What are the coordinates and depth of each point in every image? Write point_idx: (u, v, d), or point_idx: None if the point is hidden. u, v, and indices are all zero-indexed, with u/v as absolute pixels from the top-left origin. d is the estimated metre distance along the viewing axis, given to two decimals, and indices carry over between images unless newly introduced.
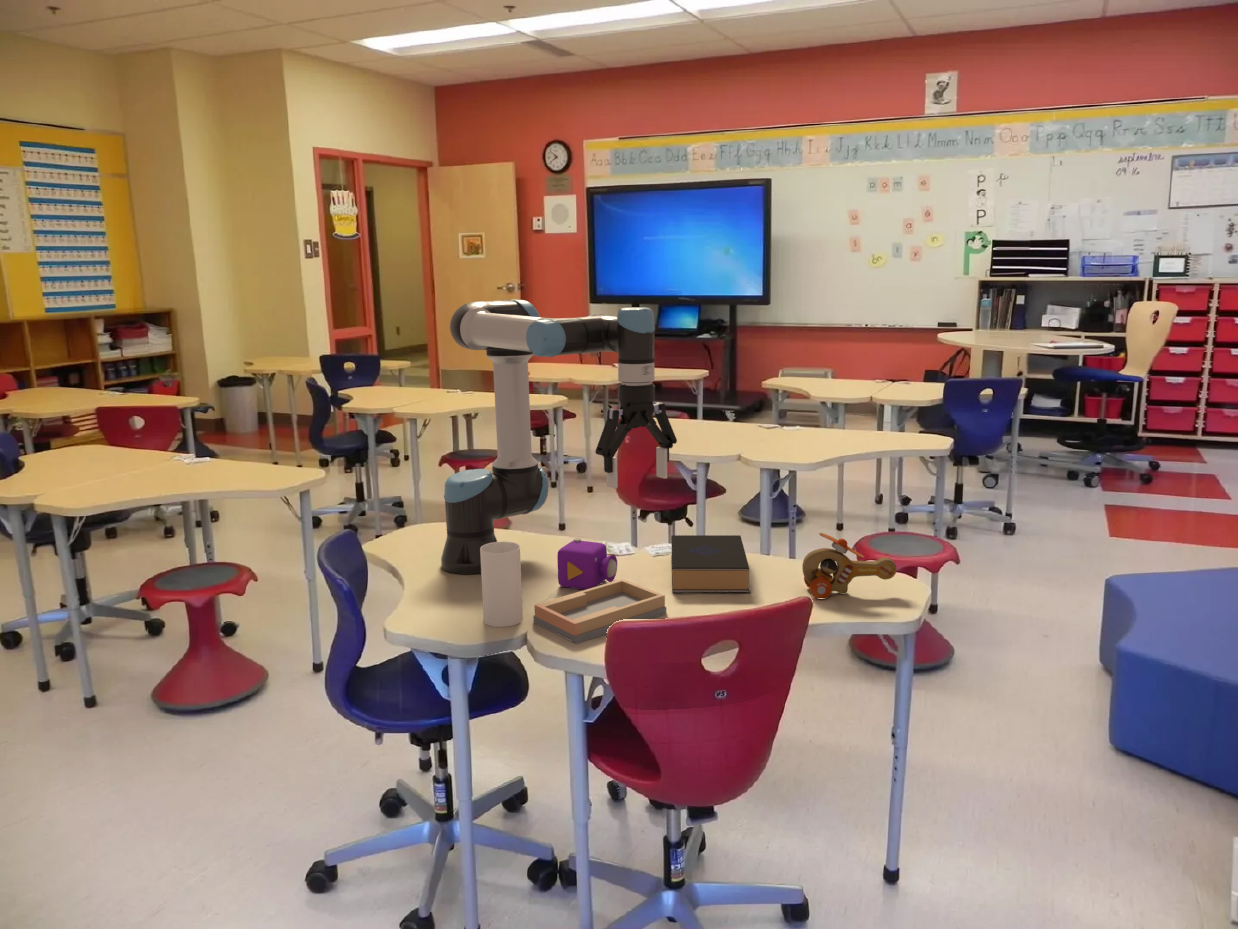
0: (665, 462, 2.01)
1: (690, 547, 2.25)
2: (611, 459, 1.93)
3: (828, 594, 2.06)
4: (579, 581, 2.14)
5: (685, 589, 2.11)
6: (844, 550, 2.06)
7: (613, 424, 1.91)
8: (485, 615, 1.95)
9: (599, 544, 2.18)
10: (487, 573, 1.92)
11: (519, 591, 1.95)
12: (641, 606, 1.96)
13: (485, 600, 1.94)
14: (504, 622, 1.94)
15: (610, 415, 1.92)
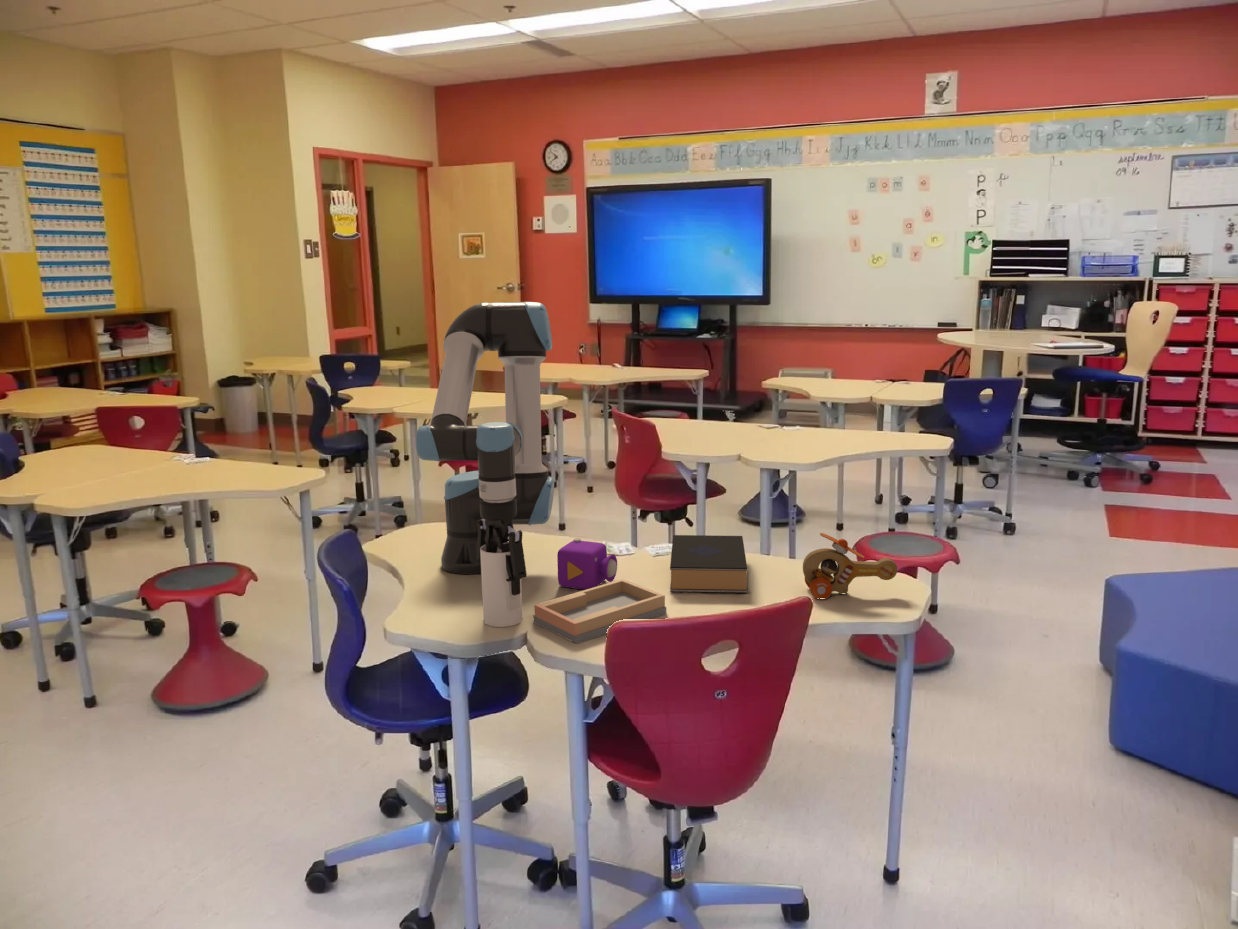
0: (507, 593, 1.92)
1: (690, 547, 2.25)
2: None
3: (828, 594, 2.06)
4: (579, 581, 2.14)
5: (683, 589, 2.12)
6: (844, 550, 2.06)
7: (478, 533, 1.98)
8: (485, 615, 1.95)
9: (599, 544, 2.18)
10: (487, 573, 1.92)
11: None
12: (641, 606, 1.96)
13: (485, 600, 1.94)
14: (504, 622, 1.94)
15: None
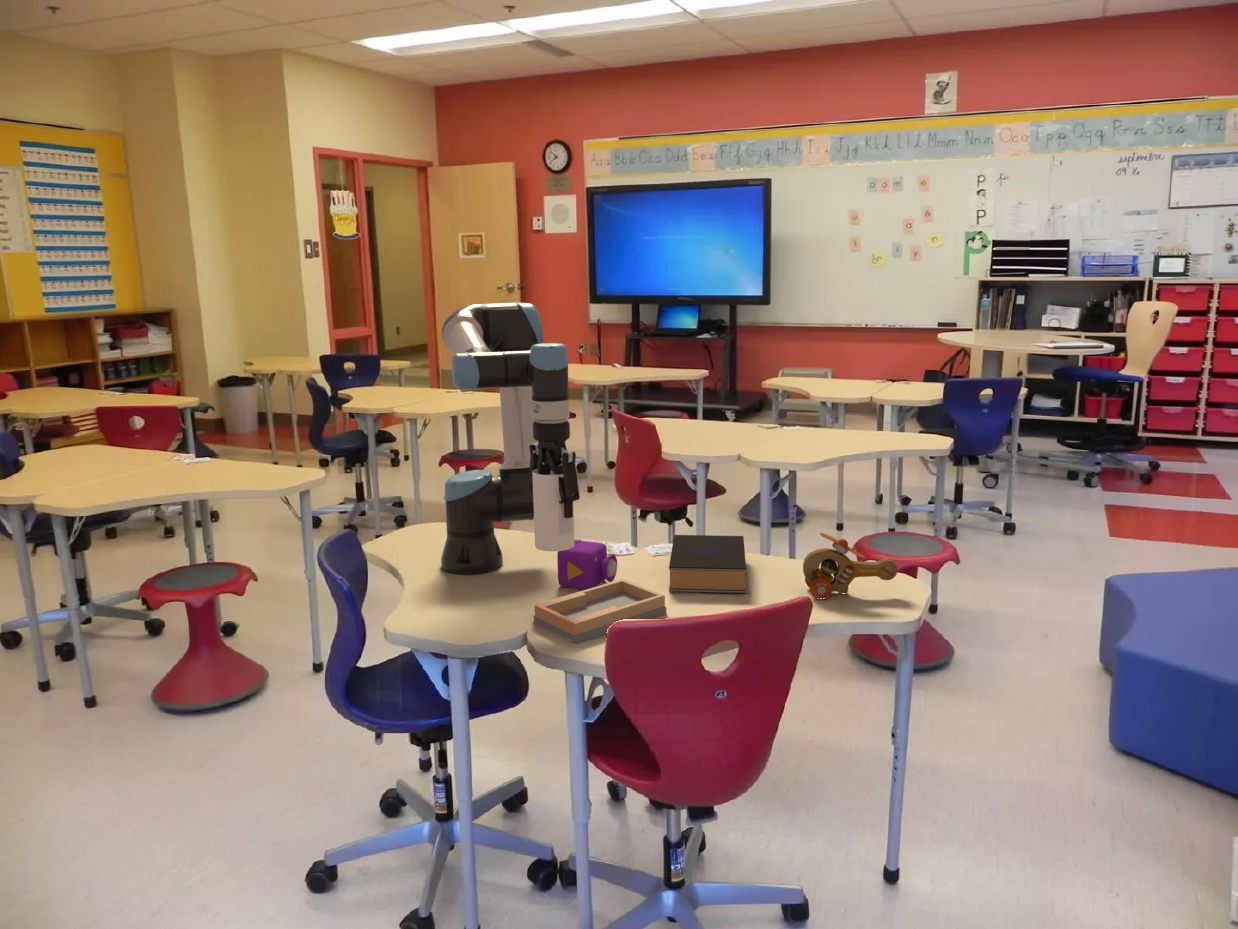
0: (560, 516, 1.90)
1: (690, 547, 2.25)
2: None
3: (828, 594, 2.06)
4: (579, 581, 2.14)
5: (682, 588, 2.12)
6: (844, 550, 2.06)
7: (530, 458, 1.96)
8: (537, 539, 1.93)
9: (599, 544, 2.18)
10: (539, 496, 1.90)
11: None
12: (641, 606, 1.96)
13: (537, 524, 1.92)
14: (556, 546, 1.92)
15: None
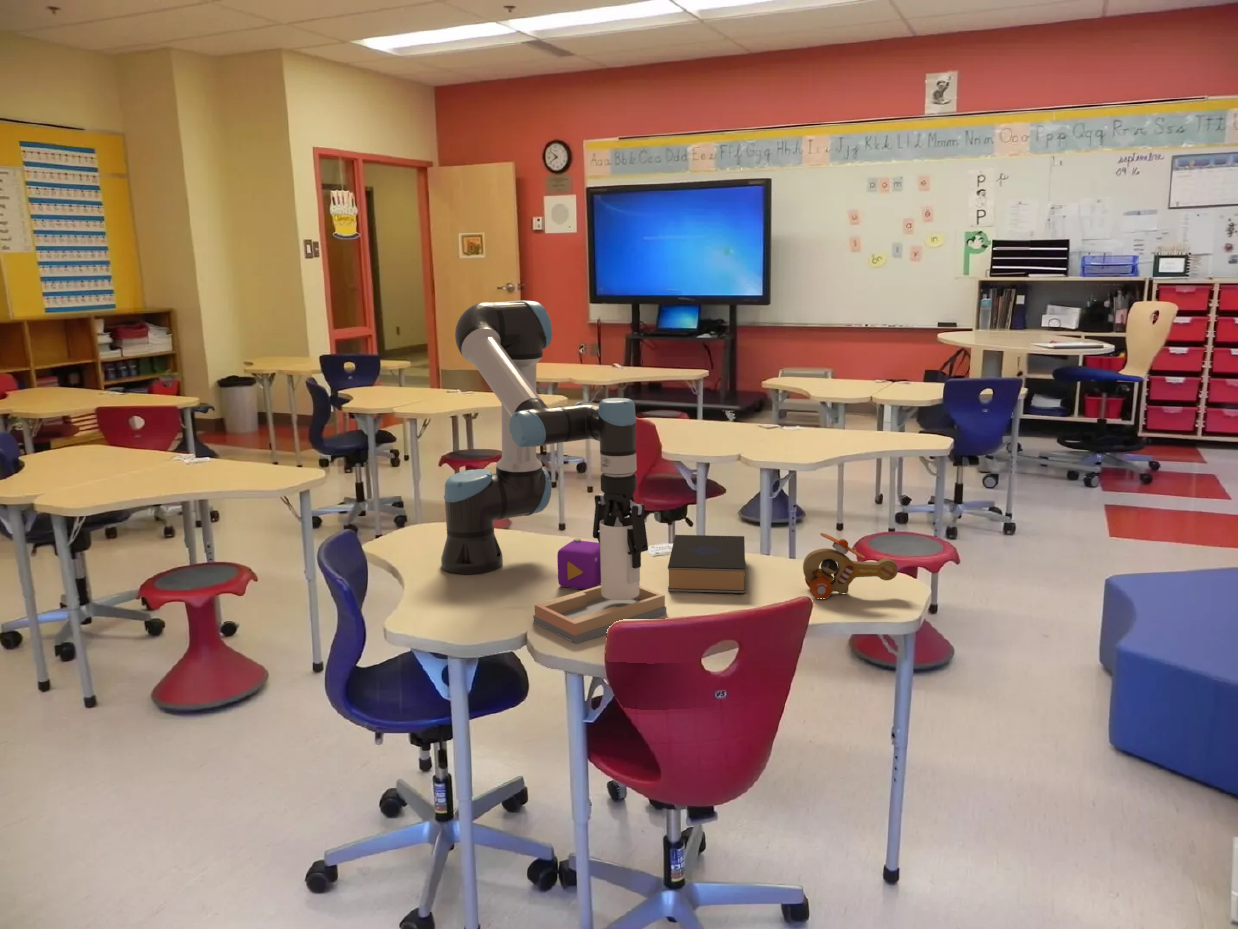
0: (628, 567, 1.95)
1: (691, 547, 2.25)
2: None
3: (828, 594, 2.06)
4: (579, 581, 2.14)
5: (681, 588, 2.12)
6: (845, 550, 2.06)
7: (595, 509, 2.01)
8: (604, 589, 1.98)
9: (599, 544, 2.18)
10: (607, 547, 1.95)
11: None
12: (641, 606, 1.96)
13: (604, 574, 1.97)
14: (624, 595, 1.96)
15: None
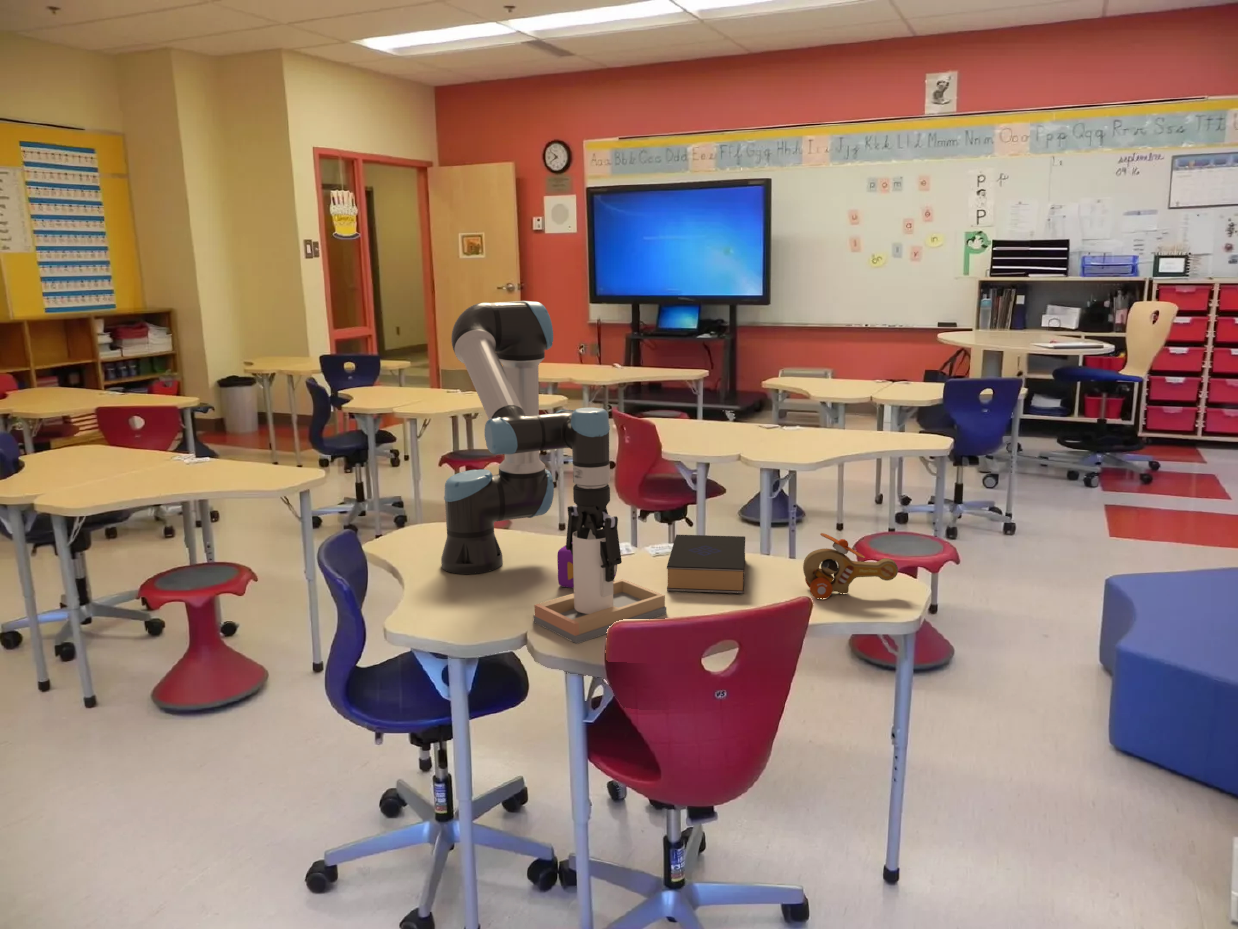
0: (601, 580, 1.91)
1: (691, 547, 2.25)
2: None
3: (828, 594, 2.06)
4: None
5: (680, 588, 2.12)
6: (845, 550, 2.06)
7: (568, 520, 1.97)
8: (577, 602, 1.94)
9: None
10: (580, 559, 1.91)
11: None
12: (641, 606, 1.96)
13: (577, 587, 1.93)
14: (597, 609, 1.92)
15: None
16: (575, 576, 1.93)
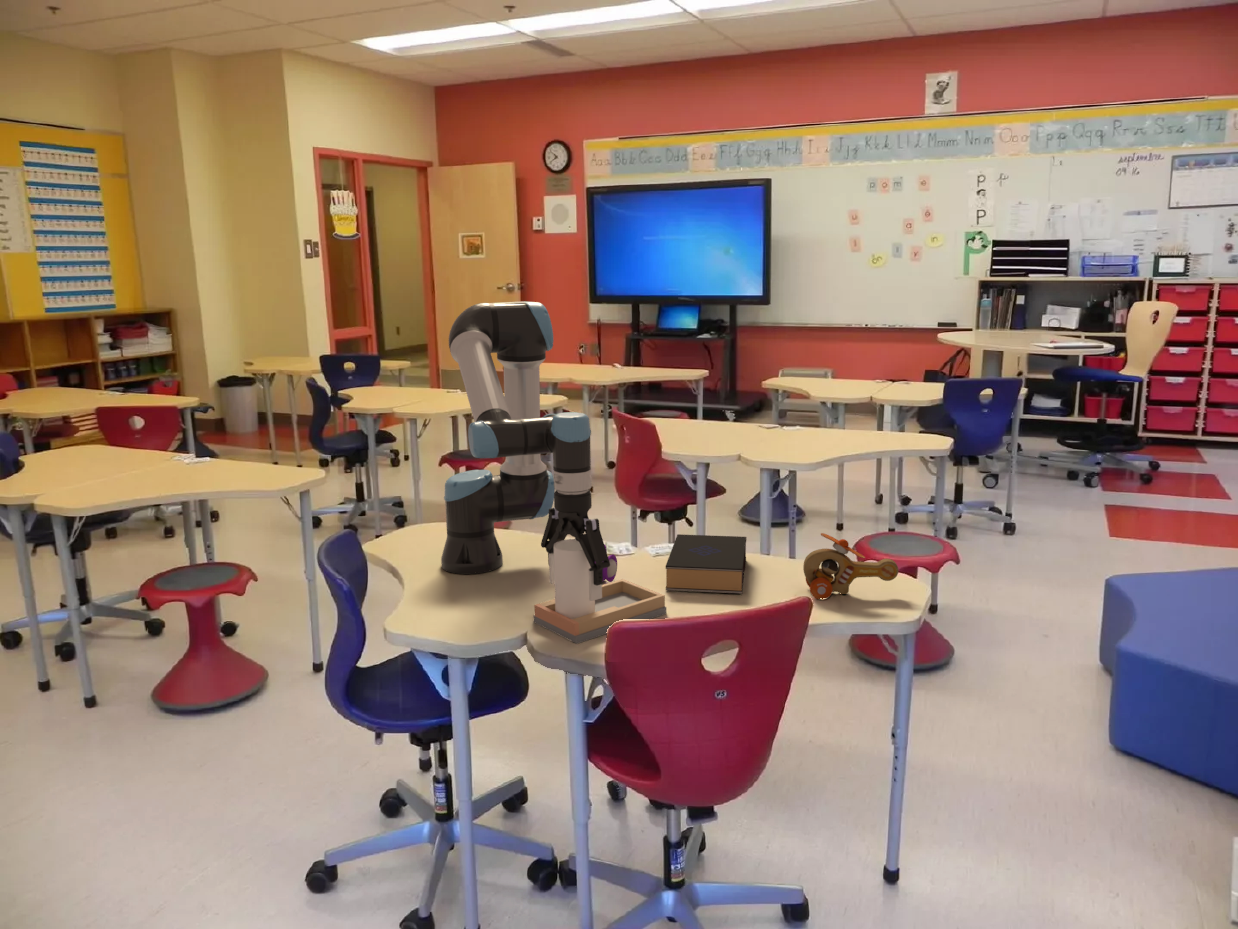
0: (589, 583, 1.86)
1: (691, 546, 2.25)
2: None
3: (828, 594, 2.06)
4: None
5: (678, 588, 2.12)
6: (845, 551, 2.06)
7: (548, 521, 1.94)
8: None
9: None
10: (561, 571, 1.88)
11: None
12: (641, 606, 1.96)
13: (558, 598, 1.90)
14: None
15: None
16: (556, 587, 1.90)
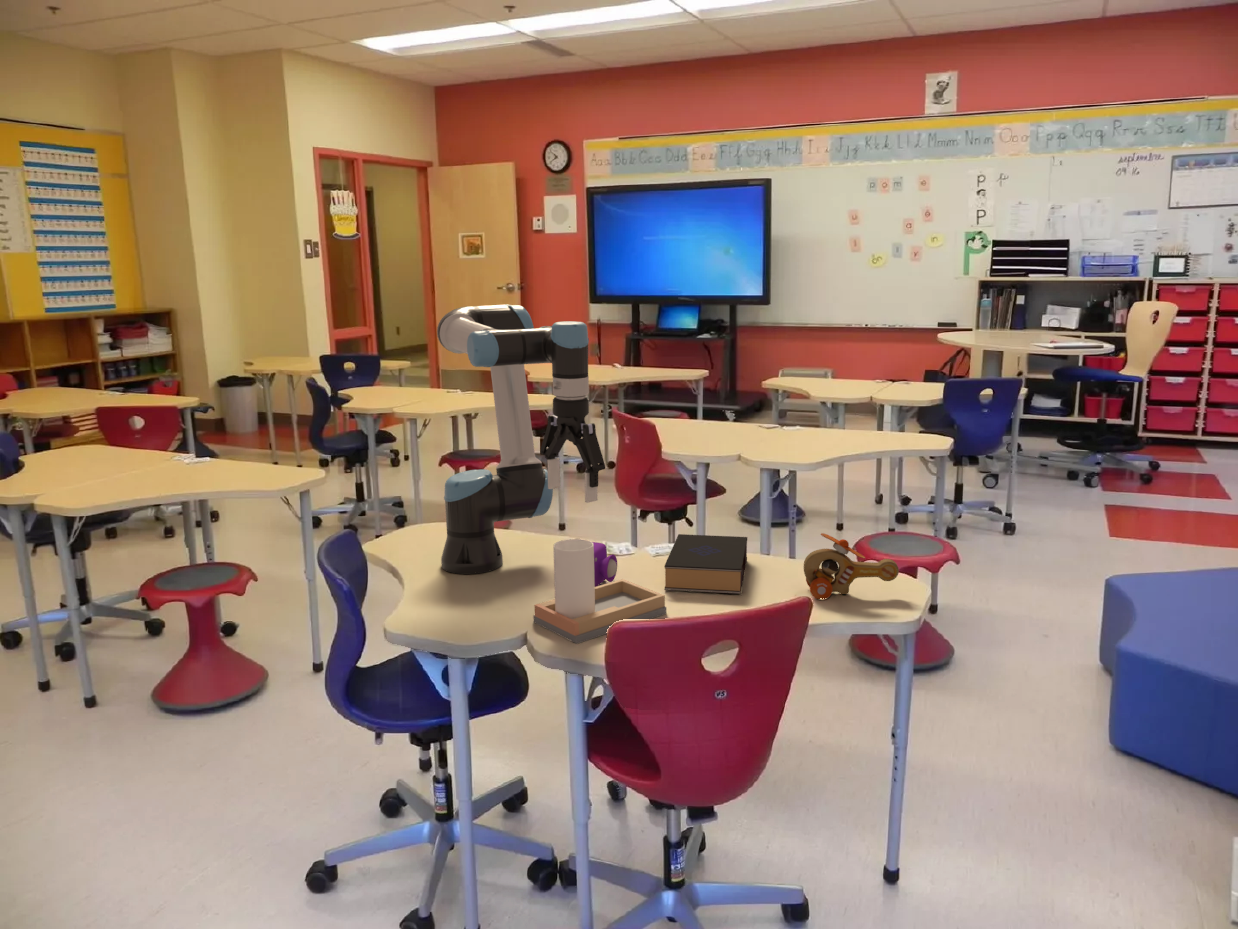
0: (585, 486, 1.94)
1: (691, 546, 2.25)
2: None
3: (828, 594, 2.06)
4: None
5: (677, 587, 2.12)
6: (845, 551, 2.06)
7: (547, 428, 2.02)
8: None
9: (599, 544, 2.18)
10: (561, 571, 1.88)
11: (593, 589, 1.91)
12: (641, 606, 1.96)
13: (558, 598, 1.90)
14: None
15: None
16: (556, 587, 1.90)
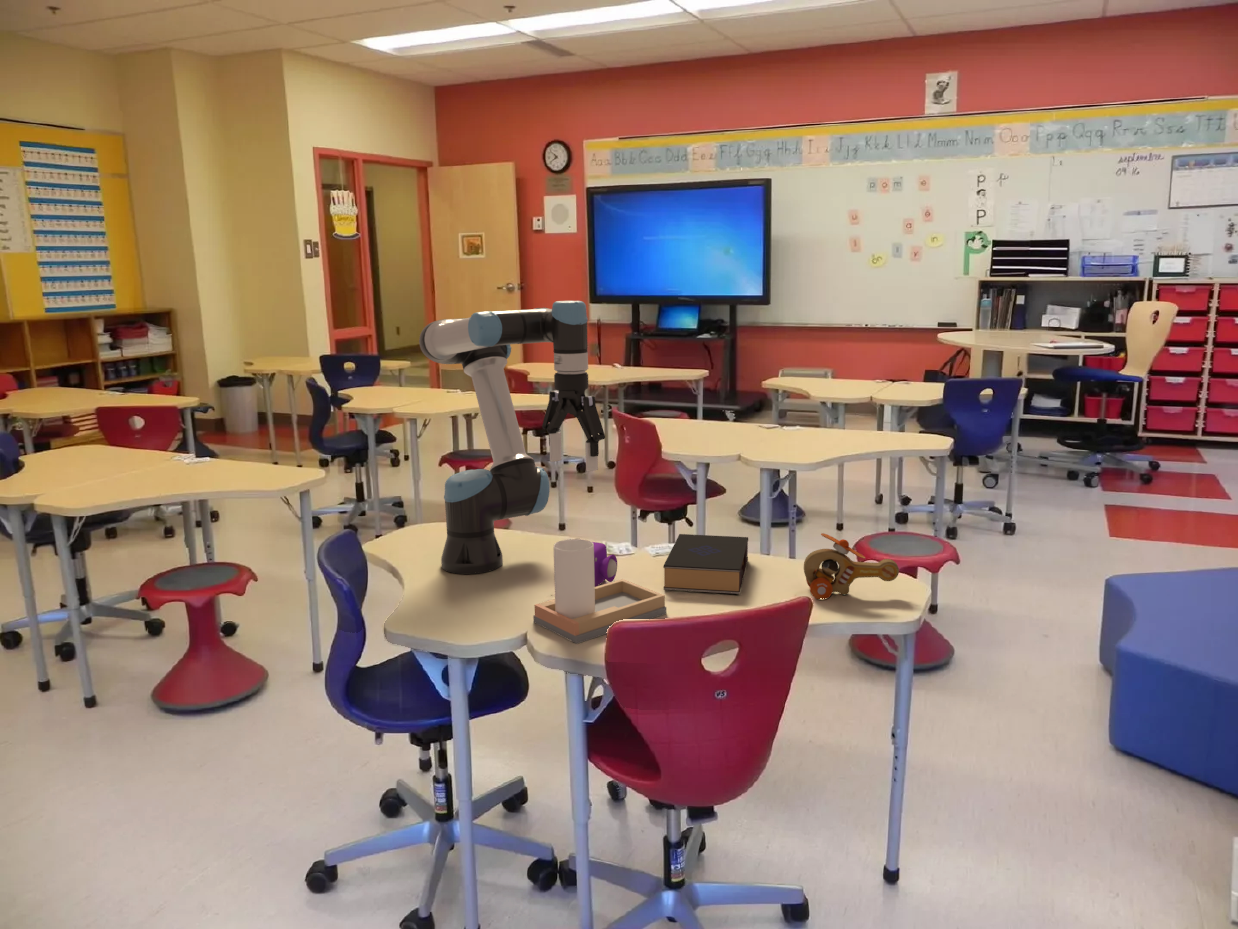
0: (586, 455, 2.05)
1: (691, 546, 2.25)
2: None
3: (828, 595, 2.06)
4: None
5: (676, 587, 2.13)
6: (845, 551, 2.06)
7: (548, 403, 2.13)
8: None
9: (599, 544, 2.18)
10: (561, 571, 1.88)
11: (593, 589, 1.91)
12: (641, 606, 1.96)
13: (558, 599, 1.90)
14: None
15: None
16: (556, 587, 1.90)
